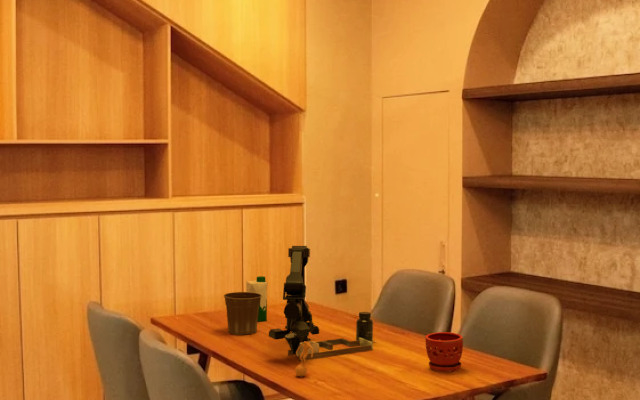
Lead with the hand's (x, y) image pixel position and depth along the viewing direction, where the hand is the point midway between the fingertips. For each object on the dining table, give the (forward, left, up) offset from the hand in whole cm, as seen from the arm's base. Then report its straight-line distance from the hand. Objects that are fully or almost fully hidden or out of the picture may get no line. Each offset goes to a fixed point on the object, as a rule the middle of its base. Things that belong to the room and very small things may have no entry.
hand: (294, 354), depth 291 cm
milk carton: (-66, +16, -2) cm, 68 cm away
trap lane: (-3, +16, -1) cm, 16 cm away
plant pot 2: (+39, +40, -2) cm, 56 cm away
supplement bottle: (-8, +37, -2) cm, 38 cm away
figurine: (+22, -8, -2) cm, 24 cm away
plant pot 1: (-48, +1, -2) cm, 48 cm away
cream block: (0, +6, -2) cm, 6 cm away
